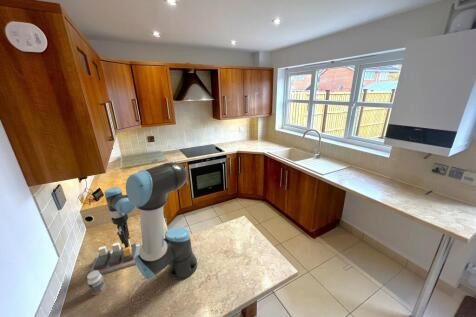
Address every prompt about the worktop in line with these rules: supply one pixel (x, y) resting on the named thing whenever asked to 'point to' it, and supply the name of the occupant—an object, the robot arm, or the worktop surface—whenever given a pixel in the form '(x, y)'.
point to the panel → (114, 258)
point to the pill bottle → (95, 282)
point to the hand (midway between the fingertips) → (128, 249)
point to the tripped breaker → (127, 251)
